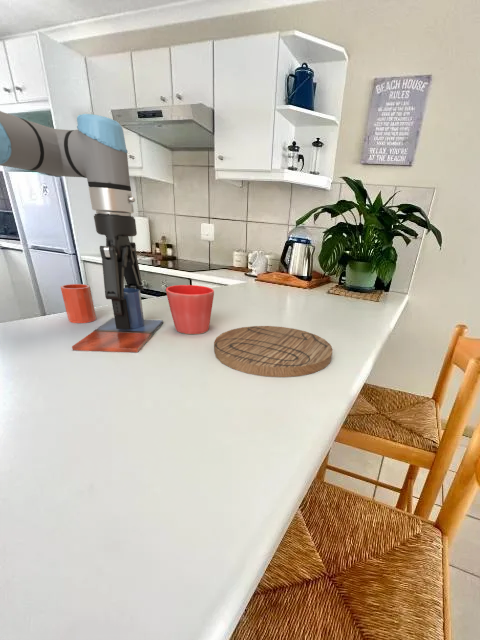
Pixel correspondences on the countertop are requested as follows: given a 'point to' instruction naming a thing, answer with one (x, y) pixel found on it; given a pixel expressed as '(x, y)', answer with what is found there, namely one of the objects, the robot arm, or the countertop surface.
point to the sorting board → (118, 337)
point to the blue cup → (134, 307)
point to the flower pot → (190, 307)
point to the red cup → (78, 303)
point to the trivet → (272, 351)
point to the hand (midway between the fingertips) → (130, 322)
